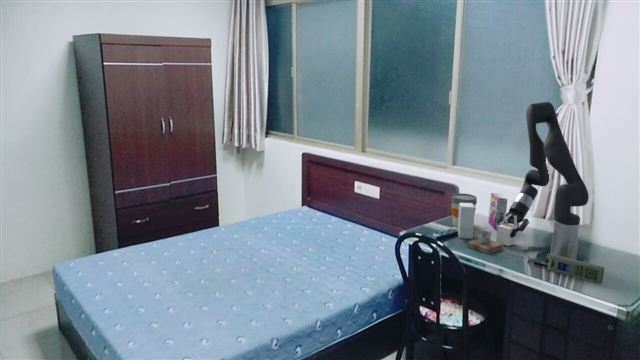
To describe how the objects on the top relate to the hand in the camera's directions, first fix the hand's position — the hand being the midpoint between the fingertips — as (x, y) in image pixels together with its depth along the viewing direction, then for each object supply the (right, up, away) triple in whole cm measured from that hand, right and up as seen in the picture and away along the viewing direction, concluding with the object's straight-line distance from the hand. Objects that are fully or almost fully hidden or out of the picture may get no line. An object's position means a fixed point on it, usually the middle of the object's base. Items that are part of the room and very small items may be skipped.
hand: (504, 234), depth 219 cm
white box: (+1, -4, +2) cm, 5 cm away
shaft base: (-10, -6, -2) cm, 11 cm away
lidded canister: (-11, +2, +29) cm, 31 cm away
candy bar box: (+6, +1, +27) cm, 27 cm away
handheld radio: (+13, -13, -28) cm, 34 cm away
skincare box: (-15, -2, +13) cm, 19 cm away
